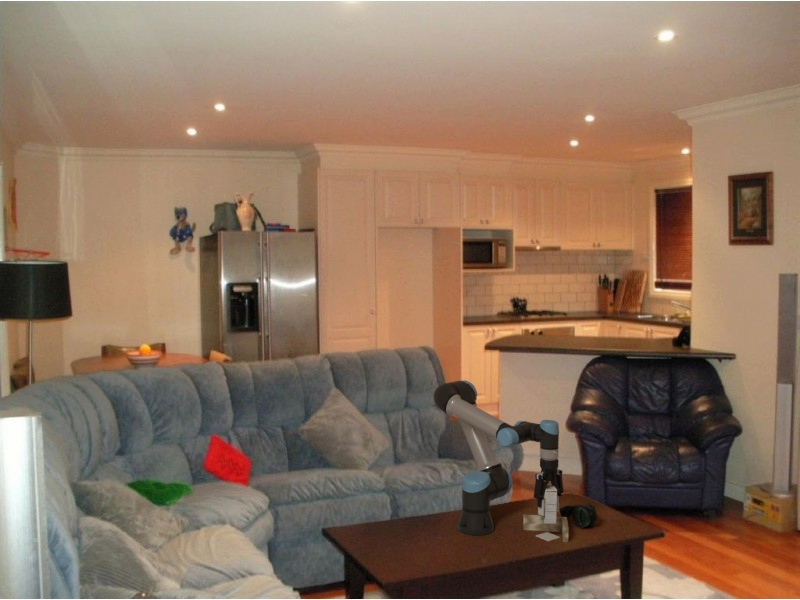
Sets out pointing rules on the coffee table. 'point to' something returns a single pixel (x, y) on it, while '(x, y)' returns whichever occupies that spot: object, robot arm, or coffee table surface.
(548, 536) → the pad
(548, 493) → the syrup box
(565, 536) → the beige l-shaped wall
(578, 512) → the headphones
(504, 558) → the coffee table surface
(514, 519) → the coffee table surface
